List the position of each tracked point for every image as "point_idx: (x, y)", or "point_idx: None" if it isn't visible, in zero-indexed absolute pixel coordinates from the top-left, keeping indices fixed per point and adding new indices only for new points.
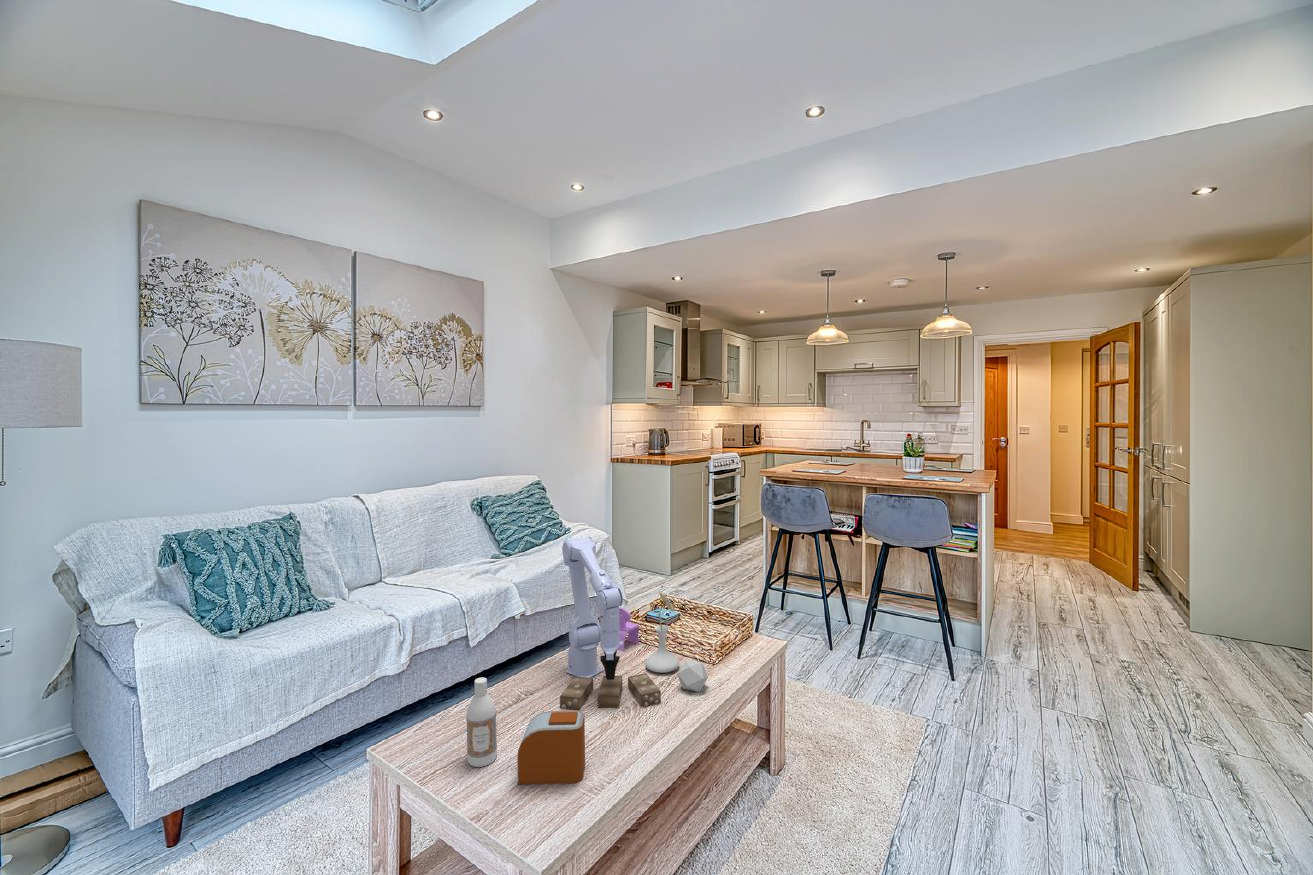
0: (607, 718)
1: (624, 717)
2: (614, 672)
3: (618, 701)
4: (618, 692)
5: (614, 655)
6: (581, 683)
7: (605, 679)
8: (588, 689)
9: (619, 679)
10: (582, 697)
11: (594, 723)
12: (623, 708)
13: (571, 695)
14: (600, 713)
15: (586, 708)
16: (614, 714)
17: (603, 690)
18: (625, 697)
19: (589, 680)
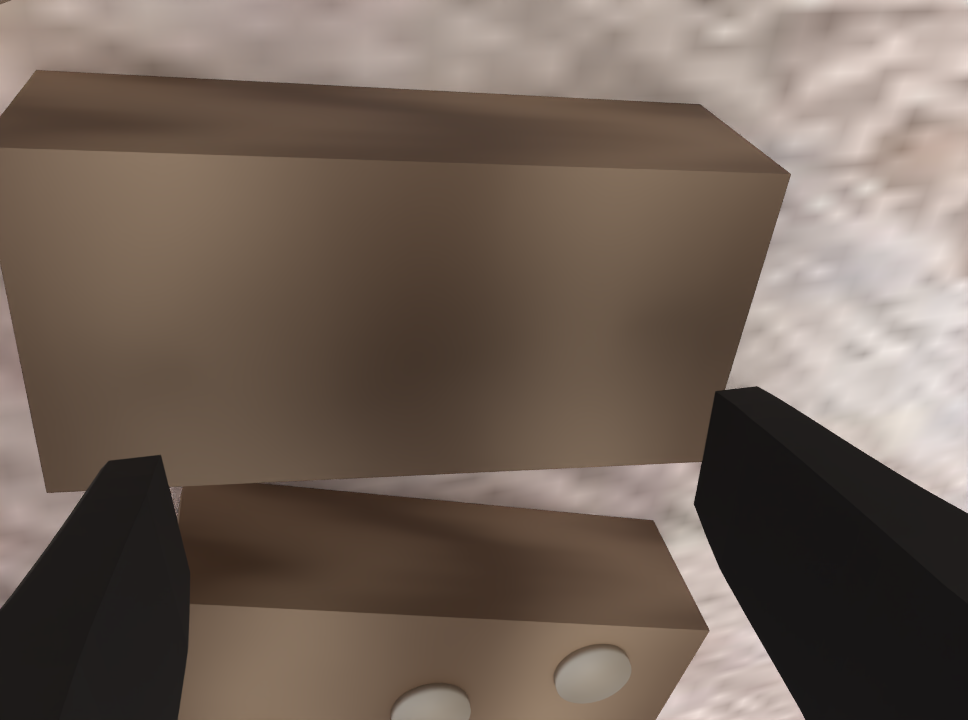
0: (898, 231)
1: (958, 11)
2: (884, 480)
3: (739, 139)
4: (690, 182)
5: (85, 716)
6: (344, 688)
7: (199, 437)
8: (384, 564)
9: (172, 196)
10: (601, 586)
11: (938, 352)
12: (733, 31)
13: (632, 704)
14: (769, 319)
15: (629, 470)
16: (842, 153)
17: (579, 414)
18: (410, 4)
19: (247, 628)
